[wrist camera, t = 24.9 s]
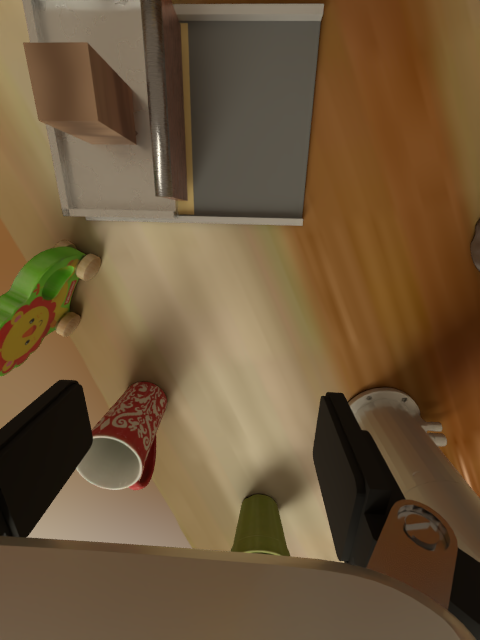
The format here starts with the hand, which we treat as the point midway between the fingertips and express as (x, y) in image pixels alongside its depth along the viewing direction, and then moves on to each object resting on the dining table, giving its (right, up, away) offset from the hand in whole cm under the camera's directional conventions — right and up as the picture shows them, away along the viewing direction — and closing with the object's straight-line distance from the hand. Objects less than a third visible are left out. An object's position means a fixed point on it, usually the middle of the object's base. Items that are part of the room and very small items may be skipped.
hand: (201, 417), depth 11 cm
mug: (-14, -11, +37) cm, 42 cm away
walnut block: (-12, +25, +19) cm, 34 cm away
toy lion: (-24, +8, +31) cm, 40 cm away
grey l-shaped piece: (-12, +27, +22) cm, 37 cm away
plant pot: (+5, -34, +45) cm, 56 cm away
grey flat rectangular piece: (-4, +27, +23) cm, 35 cm away
